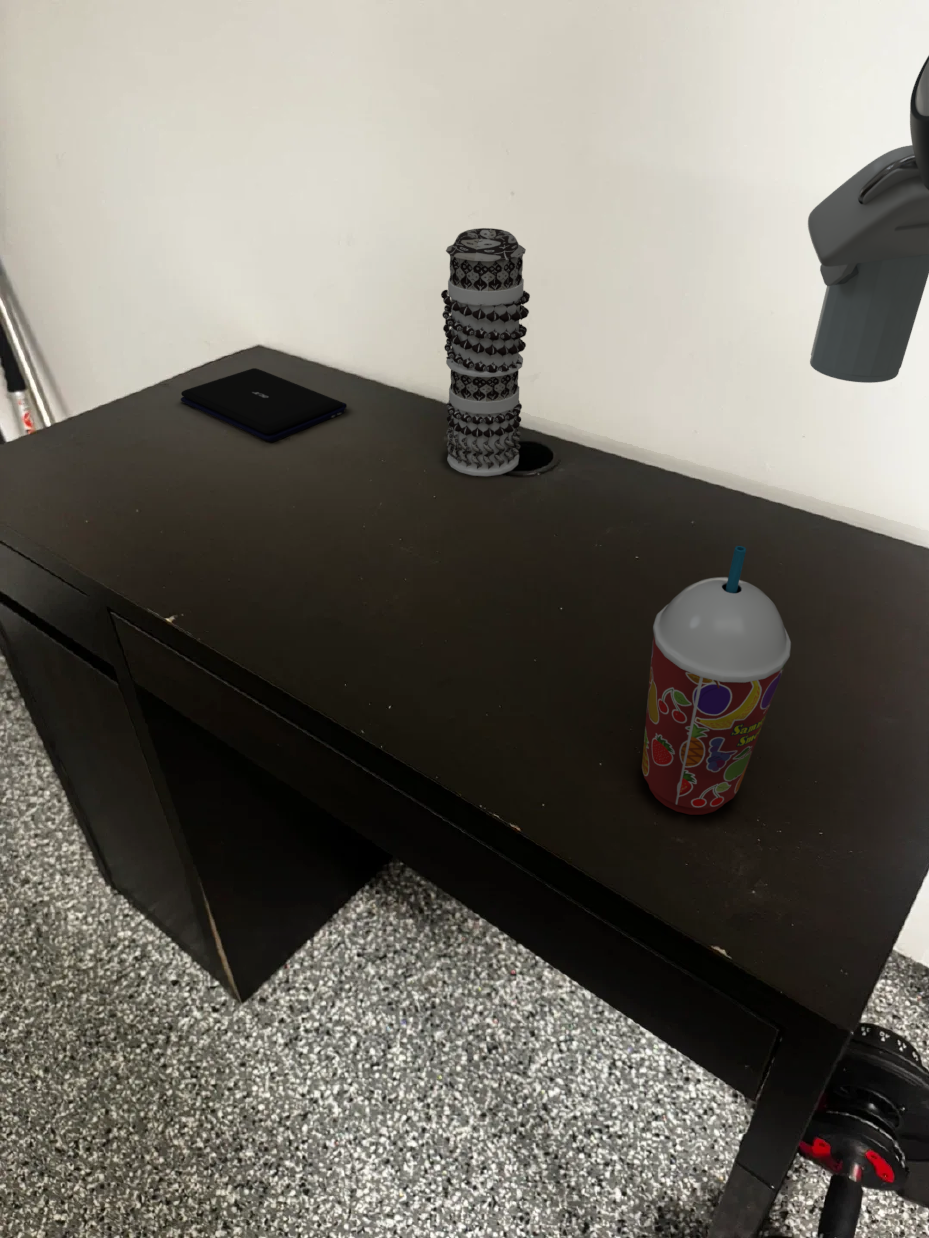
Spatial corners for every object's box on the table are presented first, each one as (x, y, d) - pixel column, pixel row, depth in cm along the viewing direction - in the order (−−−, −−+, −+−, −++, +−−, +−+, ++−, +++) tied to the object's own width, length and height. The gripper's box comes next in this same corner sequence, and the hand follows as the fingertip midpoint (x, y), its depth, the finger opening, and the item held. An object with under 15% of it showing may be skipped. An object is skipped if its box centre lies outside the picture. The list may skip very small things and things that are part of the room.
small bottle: (916, 372, 69) (978, 171, 60) (861, 389, 66) (918, 181, 58) (846, 347, 73) (895, 157, 65) (791, 362, 70) (836, 166, 62)
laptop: (278, 371, 127) (277, 357, 125) (358, 416, 114) (357, 401, 113) (174, 399, 118) (171, 385, 117) (247, 451, 106) (245, 436, 105)
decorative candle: (511, 483, 100) (519, 249, 85) (433, 471, 102) (428, 241, 87) (531, 448, 107) (542, 227, 92) (458, 438, 109) (457, 220, 94)
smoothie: (742, 844, 60) (813, 602, 48) (618, 813, 62) (657, 573, 50) (752, 759, 66) (817, 525, 54) (639, 733, 68) (678, 503, 56)
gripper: (924, 203, 49) (772, 327, 62) (1172, 177, 56) (987, 294, 69) (887, 100, 50) (744, 244, 63) (1136, 87, 56) (960, 220, 69)
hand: (873, 270), depth 66 cm, fingers closed on small bottle, 6 cm apart
